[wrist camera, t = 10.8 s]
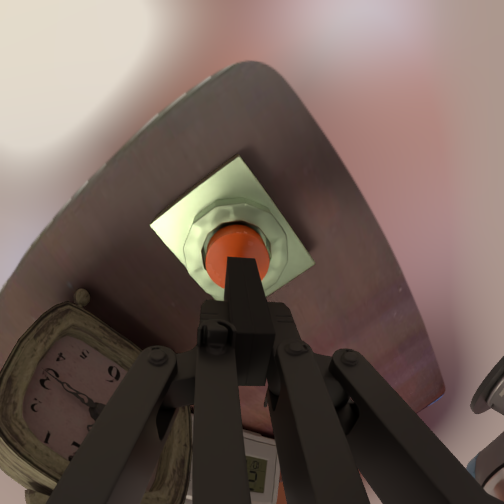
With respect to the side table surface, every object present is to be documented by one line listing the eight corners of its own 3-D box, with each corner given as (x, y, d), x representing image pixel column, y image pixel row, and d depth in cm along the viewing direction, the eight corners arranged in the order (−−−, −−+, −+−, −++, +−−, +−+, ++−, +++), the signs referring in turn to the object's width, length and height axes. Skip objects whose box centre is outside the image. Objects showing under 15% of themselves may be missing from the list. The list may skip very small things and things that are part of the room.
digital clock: (286, 439, 35) (300, 502, 26) (240, 461, 37) (246, 519, 27) (197, 393, 30) (195, 475, 20) (152, 421, 32) (143, 491, 22)
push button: (277, 257, 20) (281, 268, 19) (230, 289, 21) (231, 302, 19) (242, 212, 19) (244, 219, 17) (194, 247, 20) (192, 258, 18)
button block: (308, 253, 25) (323, 274, 21) (231, 304, 26) (233, 332, 22) (237, 153, 21) (241, 156, 17) (154, 216, 22) (142, 233, 18)
